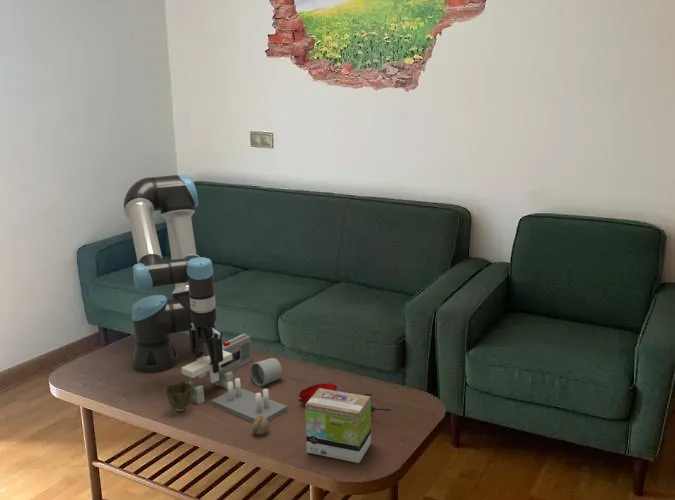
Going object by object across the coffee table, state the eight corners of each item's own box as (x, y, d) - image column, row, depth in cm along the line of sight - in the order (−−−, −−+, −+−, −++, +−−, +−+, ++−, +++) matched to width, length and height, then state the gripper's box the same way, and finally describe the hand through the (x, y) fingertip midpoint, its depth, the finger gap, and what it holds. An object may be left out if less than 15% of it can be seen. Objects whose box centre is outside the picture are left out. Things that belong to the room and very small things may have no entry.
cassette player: (219, 377, 228) (217, 349, 226) (213, 375, 230) (211, 347, 227) (251, 360, 240) (250, 333, 238) (246, 358, 242) (244, 331, 239)
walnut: (260, 426, 197) (259, 410, 195) (273, 432, 194) (272, 415, 192) (247, 434, 193) (246, 417, 192) (260, 439, 190) (259, 423, 189)
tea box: (305, 454, 182) (303, 403, 178) (320, 435, 191) (318, 386, 187) (360, 464, 177) (358, 412, 173) (372, 444, 186) (371, 394, 182)
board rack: (185, 398, 214) (184, 383, 213) (221, 381, 225) (220, 367, 223) (198, 404, 210) (196, 389, 209) (233, 386, 221) (232, 372, 220)
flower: (393, 383, 195) (300, 373, 209) (383, 411, 189) (287, 399, 202) (400, 403, 201) (309, 392, 214) (391, 431, 194) (298, 418, 208)
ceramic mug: (285, 380, 224) (283, 358, 222) (265, 389, 219) (263, 366, 217) (264, 371, 232) (263, 350, 230) (245, 379, 226) (243, 357, 224)
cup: (171, 419, 202) (169, 394, 200) (165, 408, 208) (162, 384, 206) (196, 413, 205) (194, 388, 203) (189, 402, 211) (187, 378, 209)
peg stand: (211, 404, 210) (209, 383, 208) (238, 391, 218) (237, 370, 216) (260, 426, 197) (259, 403, 195) (287, 410, 205) (286, 389, 203)
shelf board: (192, 378, 208) (192, 371, 207) (181, 373, 211) (181, 367, 211) (232, 359, 220) (232, 353, 219) (221, 355, 223) (221, 349, 222)
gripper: (174, 306, 213) (180, 375, 219) (213, 319, 202) (218, 391, 208) (193, 299, 218) (199, 366, 225) (232, 311, 207) (237, 382, 214)
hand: (208, 378), depth 217 cm, fingers closed on shelf board, 5 cm apart
